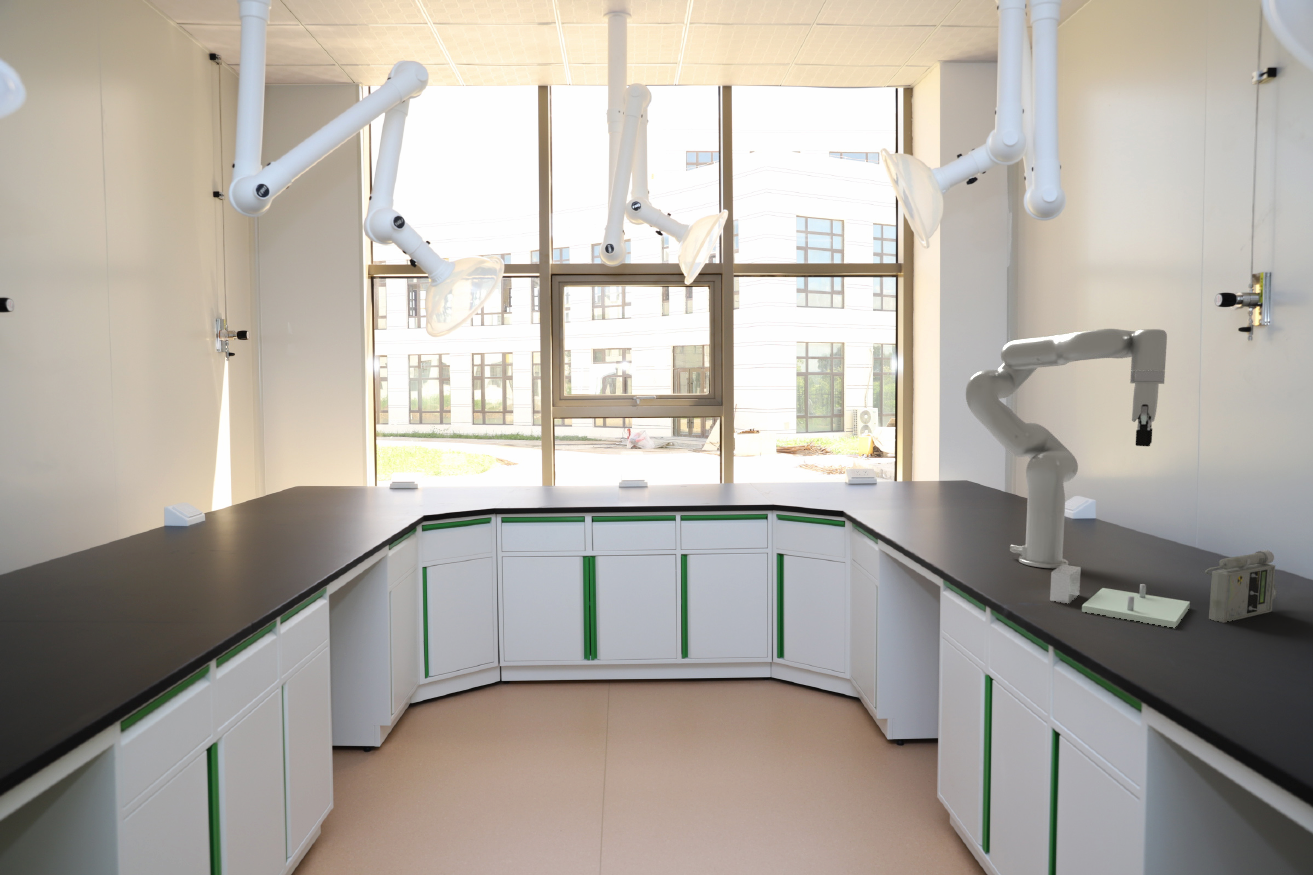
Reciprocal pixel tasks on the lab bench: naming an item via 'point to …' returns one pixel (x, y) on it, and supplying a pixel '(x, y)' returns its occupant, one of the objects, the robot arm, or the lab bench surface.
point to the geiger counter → (1242, 587)
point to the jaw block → (1065, 583)
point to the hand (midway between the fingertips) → (1143, 444)
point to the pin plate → (1137, 607)
